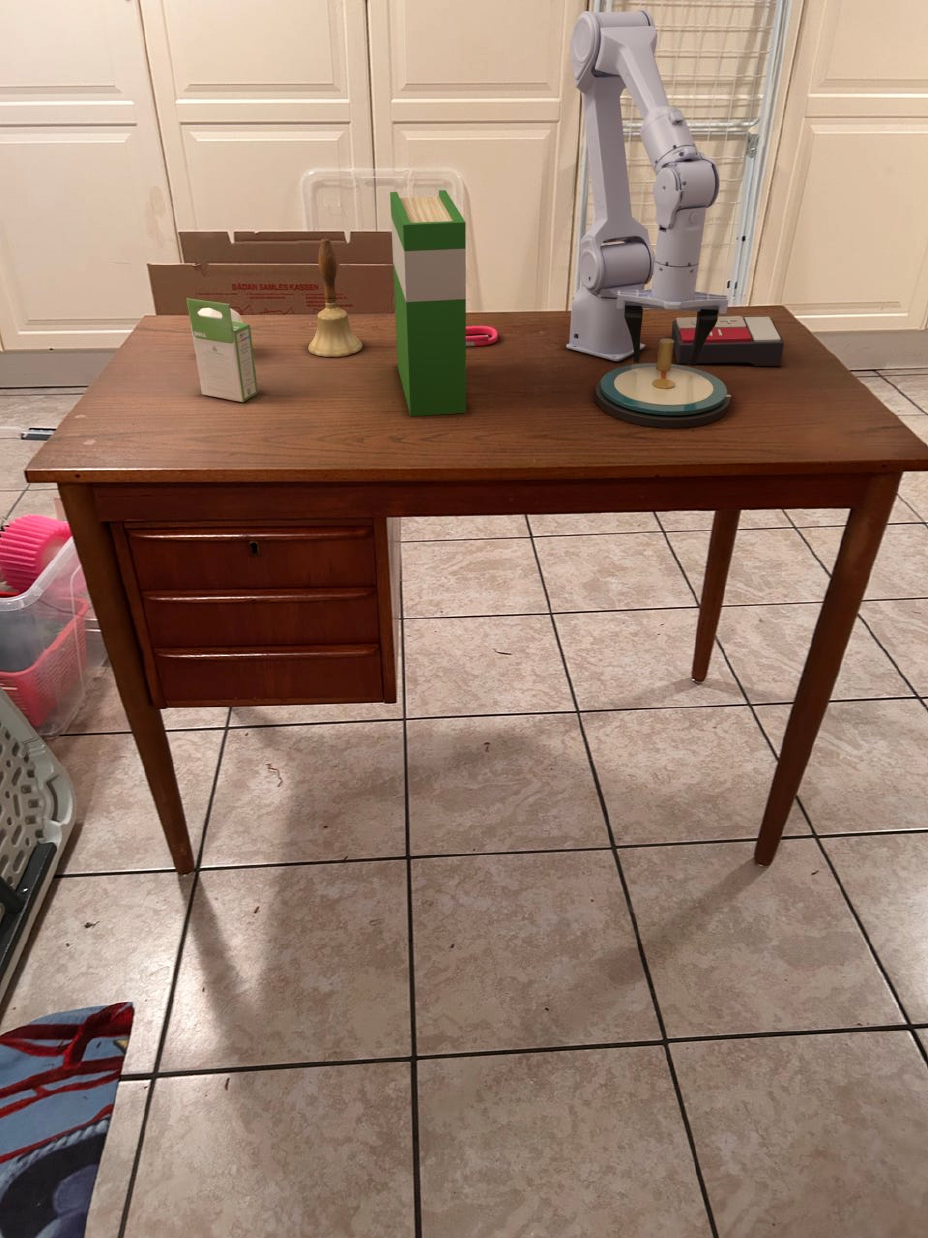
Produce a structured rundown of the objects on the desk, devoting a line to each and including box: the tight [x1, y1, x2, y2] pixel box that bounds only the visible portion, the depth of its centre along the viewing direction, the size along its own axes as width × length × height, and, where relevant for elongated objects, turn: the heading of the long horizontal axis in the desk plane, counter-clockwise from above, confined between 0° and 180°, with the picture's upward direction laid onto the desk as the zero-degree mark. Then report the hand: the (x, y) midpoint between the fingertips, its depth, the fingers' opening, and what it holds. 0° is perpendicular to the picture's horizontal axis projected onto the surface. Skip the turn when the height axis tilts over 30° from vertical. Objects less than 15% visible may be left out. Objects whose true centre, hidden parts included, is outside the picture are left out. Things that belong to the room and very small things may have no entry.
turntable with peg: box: [600, 337, 728, 415], centre depth 128 cm, size 17×17×5 cm
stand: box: [594, 380, 732, 429], centre depth 130 cm, size 18×18×1 cm
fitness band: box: [466, 325, 499, 348], centre depth 149 cm, size 8×6×2 cm
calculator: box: [670, 315, 785, 367], centre depth 144 cm, size 11×4×15 cm
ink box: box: [186, 297, 259, 403], centre depth 128 cm, size 7×4×13 cm, turn 65°
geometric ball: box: [198, 307, 244, 323], centre depth 142 cm, size 8×8×8 cm
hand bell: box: [307, 238, 364, 358], centre depth 142 cm, size 8×8×16 cm
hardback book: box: [389, 189, 467, 417], centre depth 127 cm, size 18×7×24 cm, turn 9°
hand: (664, 361), depth 133 cm, fingers open, 7 cm apart
